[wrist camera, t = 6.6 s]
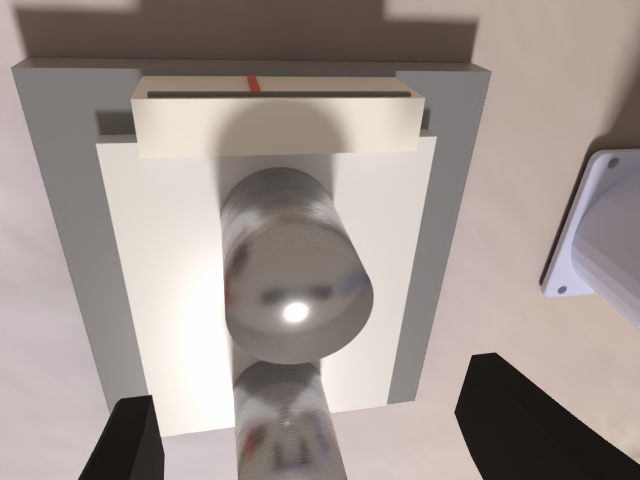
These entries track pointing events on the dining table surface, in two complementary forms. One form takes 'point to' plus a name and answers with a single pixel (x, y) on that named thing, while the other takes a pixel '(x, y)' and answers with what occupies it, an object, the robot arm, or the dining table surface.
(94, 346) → the scale
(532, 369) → the dining table surface
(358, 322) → the cylinder
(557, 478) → the robot arm
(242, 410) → the cylinder
